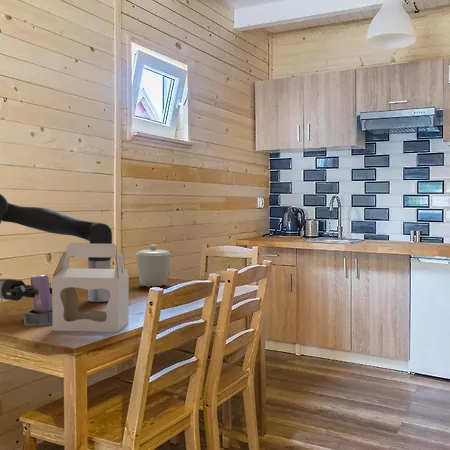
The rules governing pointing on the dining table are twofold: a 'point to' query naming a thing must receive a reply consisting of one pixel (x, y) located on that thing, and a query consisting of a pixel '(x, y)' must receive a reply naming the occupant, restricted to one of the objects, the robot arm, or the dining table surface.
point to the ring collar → (37, 318)
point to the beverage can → (41, 294)
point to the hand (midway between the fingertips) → (43, 292)
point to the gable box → (90, 279)
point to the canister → (153, 266)
